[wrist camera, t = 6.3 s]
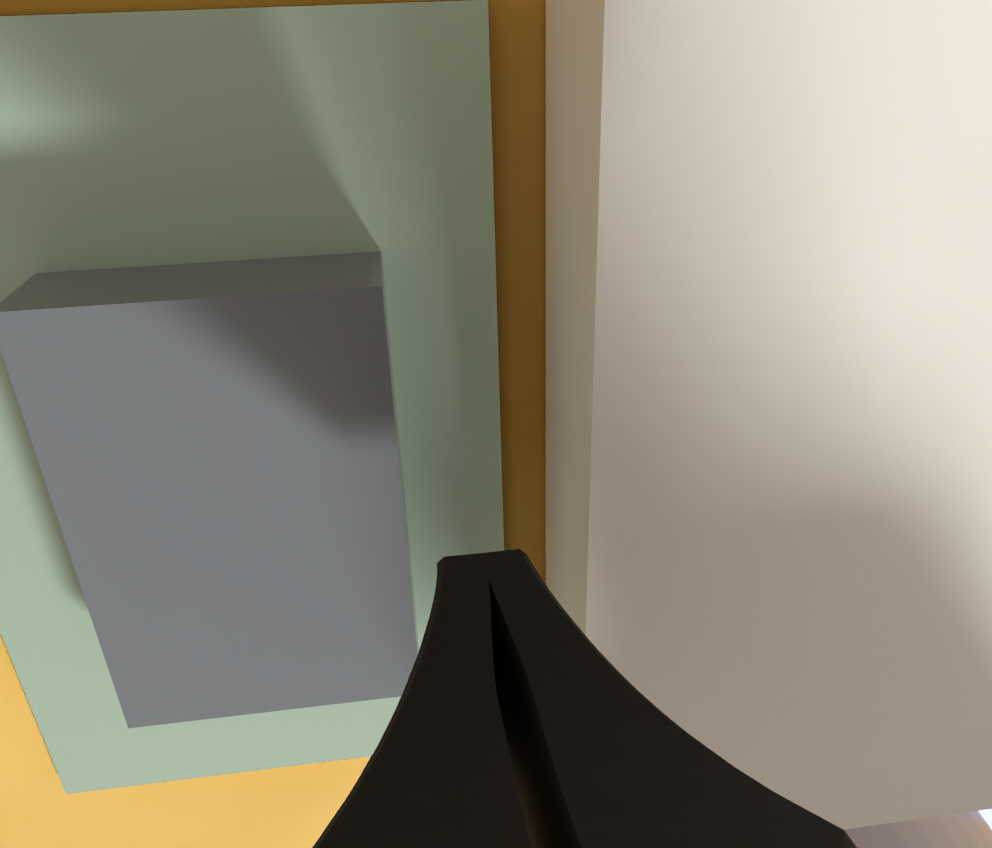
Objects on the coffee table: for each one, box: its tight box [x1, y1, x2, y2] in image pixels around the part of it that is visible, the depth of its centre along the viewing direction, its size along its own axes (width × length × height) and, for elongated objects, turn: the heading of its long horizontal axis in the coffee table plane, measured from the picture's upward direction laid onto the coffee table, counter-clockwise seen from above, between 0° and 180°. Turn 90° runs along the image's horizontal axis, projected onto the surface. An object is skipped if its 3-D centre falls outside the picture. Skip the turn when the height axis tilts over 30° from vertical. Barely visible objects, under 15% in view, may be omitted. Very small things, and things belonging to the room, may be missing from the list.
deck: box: [546, 0, 992, 830], centre depth 16 cm, size 17×12×4 cm
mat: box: [0, 0, 504, 794], centre depth 17 cm, size 17×11×1 cm, turn 1°
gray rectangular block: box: [0, 251, 419, 728], centre depth 16 cm, size 9×6×2 cm, turn 1°
